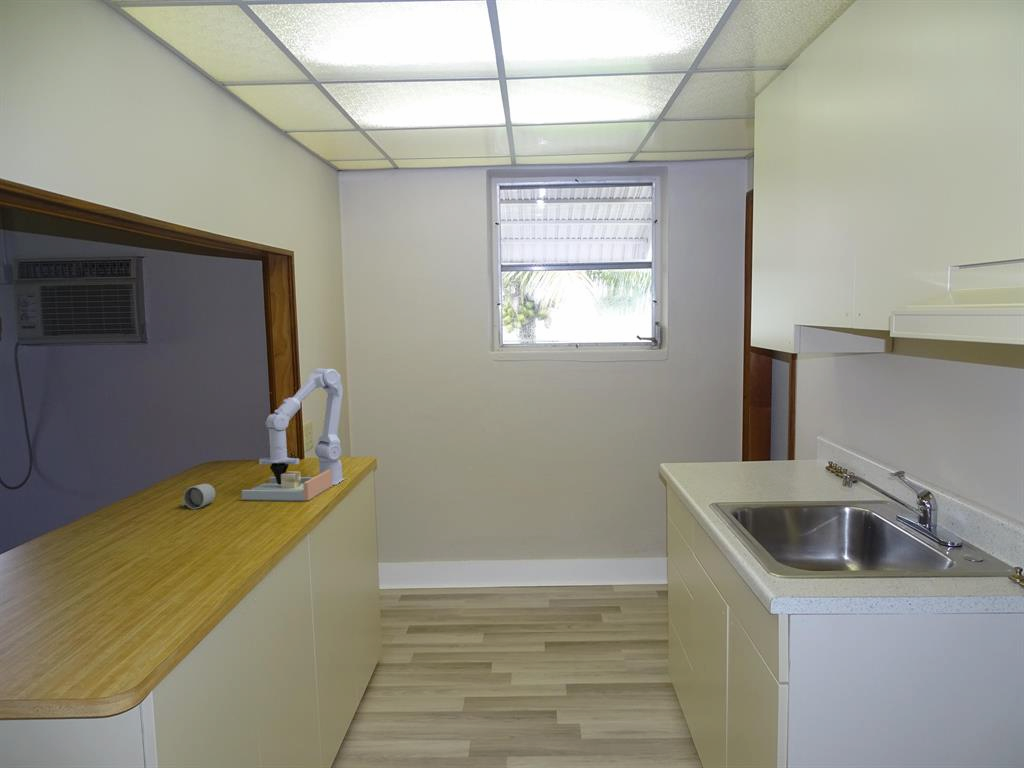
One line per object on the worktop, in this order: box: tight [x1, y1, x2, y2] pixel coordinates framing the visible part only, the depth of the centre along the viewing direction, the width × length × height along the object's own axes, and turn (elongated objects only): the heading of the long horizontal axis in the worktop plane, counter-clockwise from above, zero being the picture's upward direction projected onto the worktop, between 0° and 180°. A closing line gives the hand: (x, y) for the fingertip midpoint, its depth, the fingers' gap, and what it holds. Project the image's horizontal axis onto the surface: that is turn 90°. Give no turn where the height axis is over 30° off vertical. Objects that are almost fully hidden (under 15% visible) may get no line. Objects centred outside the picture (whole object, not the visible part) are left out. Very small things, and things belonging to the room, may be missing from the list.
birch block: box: [281, 470, 302, 488], centre depth 246 cm, size 5×5×5 cm
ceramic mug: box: [180, 483, 217, 510], centre depth 233 cm, size 11×8×8 cm
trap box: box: [241, 470, 334, 502], centre depth 247 cm, size 21×24×6 cm
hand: (280, 483), depth 247 cm, fingers closed
